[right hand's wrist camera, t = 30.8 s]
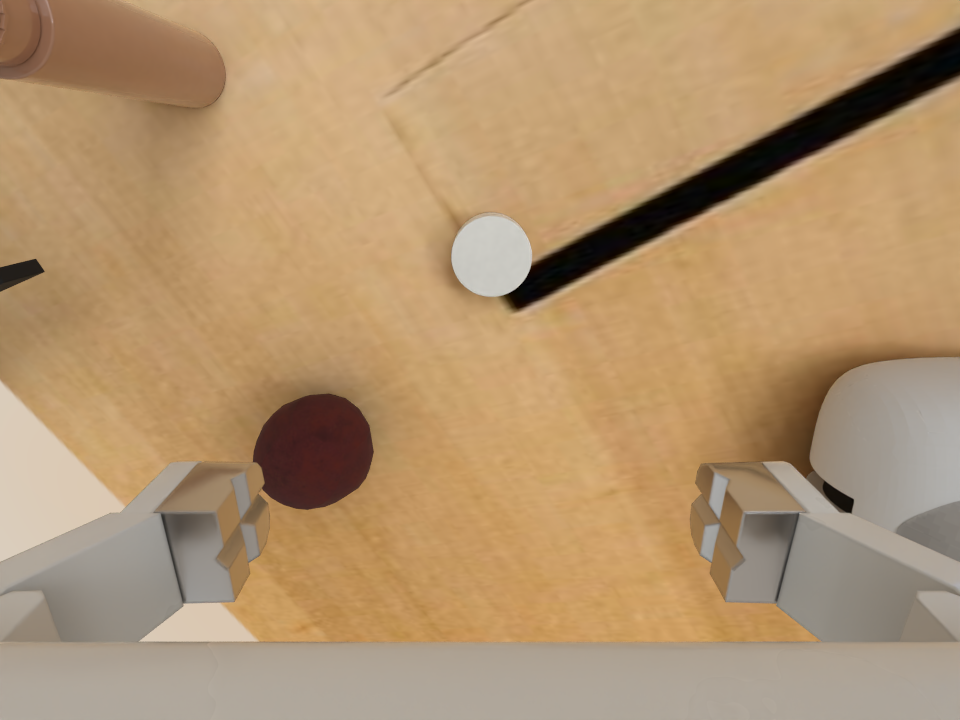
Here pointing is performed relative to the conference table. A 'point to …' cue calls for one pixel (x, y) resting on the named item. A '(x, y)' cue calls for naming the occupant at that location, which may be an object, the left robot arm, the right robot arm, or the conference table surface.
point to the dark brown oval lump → (314, 451)
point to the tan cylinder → (108, 51)
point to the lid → (491, 254)
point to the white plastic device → (894, 448)
